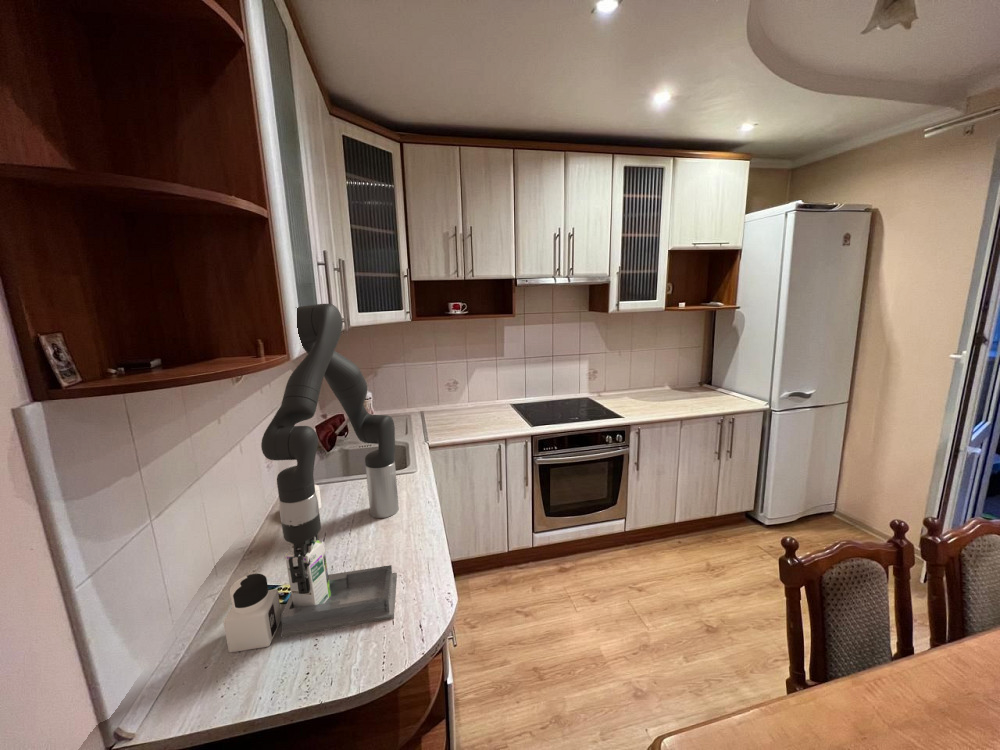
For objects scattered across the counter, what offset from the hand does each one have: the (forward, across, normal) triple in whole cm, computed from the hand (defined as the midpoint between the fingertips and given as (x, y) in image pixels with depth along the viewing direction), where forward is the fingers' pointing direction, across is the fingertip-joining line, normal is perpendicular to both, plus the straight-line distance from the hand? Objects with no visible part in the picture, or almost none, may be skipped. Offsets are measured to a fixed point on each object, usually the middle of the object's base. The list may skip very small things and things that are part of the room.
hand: (309, 580), depth 91 cm
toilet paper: (+8, -48, -13) cm, 50 cm away
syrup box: (+6, 0, 0) cm, 6 cm away
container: (+8, +5, -10) cm, 14 cm away
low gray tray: (+7, 0, +7) cm, 10 cm away
